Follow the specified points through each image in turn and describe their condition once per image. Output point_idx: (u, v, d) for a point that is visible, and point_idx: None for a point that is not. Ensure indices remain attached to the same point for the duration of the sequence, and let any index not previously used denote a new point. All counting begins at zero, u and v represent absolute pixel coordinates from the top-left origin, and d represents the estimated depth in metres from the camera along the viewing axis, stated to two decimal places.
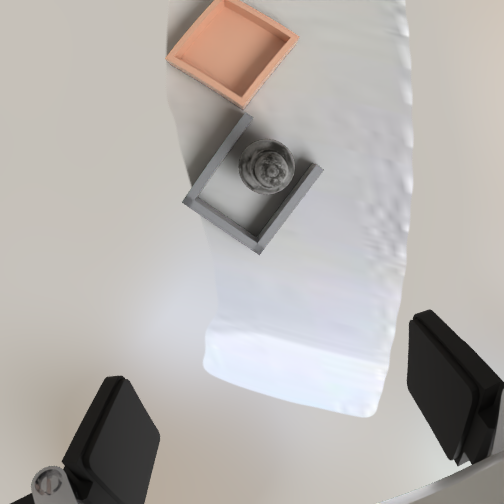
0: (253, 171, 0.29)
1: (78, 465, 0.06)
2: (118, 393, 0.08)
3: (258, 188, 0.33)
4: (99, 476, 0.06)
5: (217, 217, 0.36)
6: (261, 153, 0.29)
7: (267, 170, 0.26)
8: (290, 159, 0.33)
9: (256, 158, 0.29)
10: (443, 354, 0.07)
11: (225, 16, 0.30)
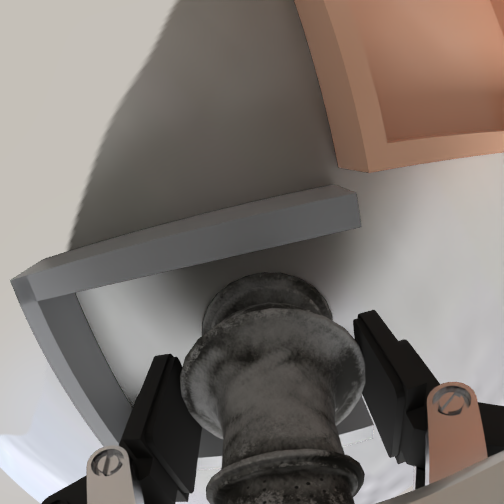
0: (226, 486, 0.05)
1: (141, 440, 0.06)
2: (171, 370, 0.09)
3: (207, 420, 0.09)
4: (160, 451, 0.07)
5: (70, 374, 0.10)
6: (309, 463, 0.05)
7: None
8: (344, 412, 0.10)
9: (277, 468, 0.05)
10: (376, 353, 0.08)
11: None
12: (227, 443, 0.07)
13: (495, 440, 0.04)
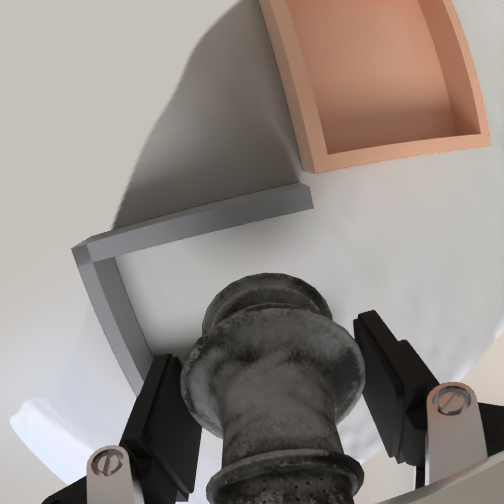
0: (226, 486, 0.05)
1: (141, 440, 0.06)
2: (171, 370, 0.09)
3: (207, 420, 0.09)
4: (160, 451, 0.07)
5: (112, 319, 0.16)
6: (309, 463, 0.05)
7: None
8: (344, 411, 0.10)
9: (277, 467, 0.05)
10: (376, 353, 0.08)
11: (406, 9, 0.13)
12: (227, 443, 0.07)
13: (495, 440, 0.04)
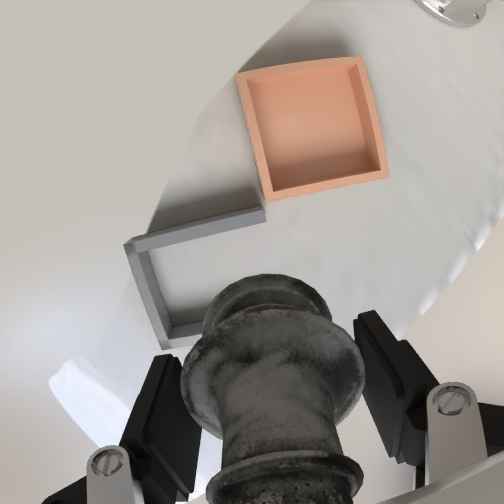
0: (226, 487, 0.05)
1: (141, 440, 0.06)
2: (171, 370, 0.09)
3: (206, 421, 0.09)
4: (160, 451, 0.07)
5: (147, 288, 0.27)
6: (308, 464, 0.05)
7: None
8: (343, 412, 0.10)
9: (277, 469, 0.05)
10: (376, 353, 0.08)
11: (338, 82, 0.24)
12: (227, 444, 0.07)
13: (495, 440, 0.04)
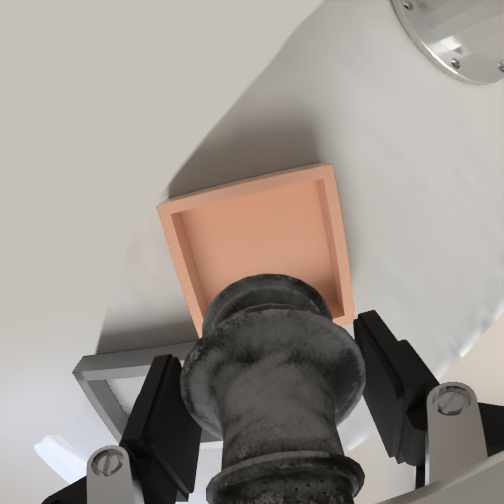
0: (226, 488, 0.05)
1: (141, 440, 0.06)
2: (171, 370, 0.09)
3: (207, 421, 0.09)
4: (160, 451, 0.07)
5: (101, 408, 0.24)
6: (309, 465, 0.05)
7: None
8: (344, 412, 0.10)
9: (277, 469, 0.05)
10: (376, 353, 0.08)
11: (300, 193, 0.21)
12: (227, 444, 0.07)
13: (495, 440, 0.04)
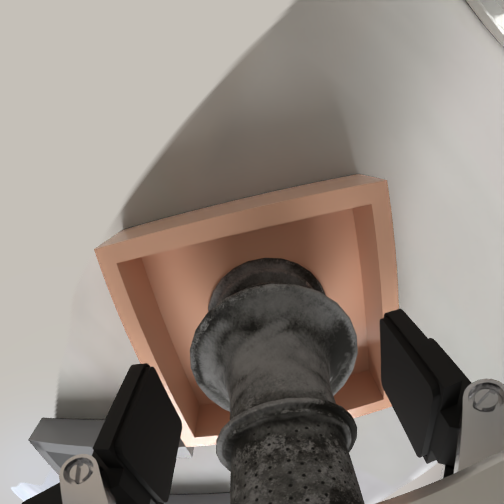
0: (234, 436, 0.07)
1: (110, 451, 0.06)
2: (145, 380, 0.09)
3: (214, 391, 0.11)
4: (130, 462, 0.06)
5: None
6: (307, 410, 0.06)
7: None
8: (339, 383, 0.11)
9: (279, 414, 0.06)
10: (408, 352, 0.07)
11: (327, 223, 0.13)
12: (234, 401, 0.08)
13: None
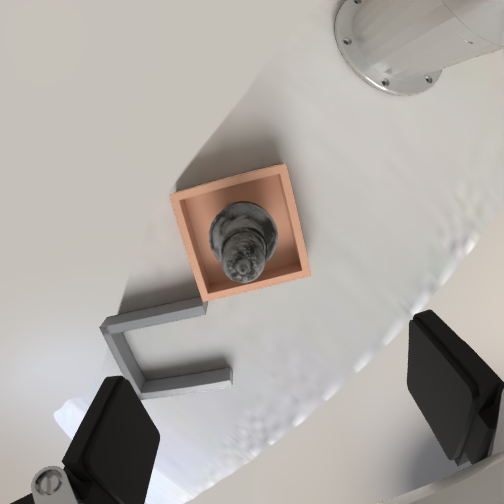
0: (225, 240, 0.23)
1: (78, 465, 0.06)
2: (118, 393, 0.08)
3: (218, 252, 0.27)
4: (99, 476, 0.06)
5: (121, 358, 0.33)
6: (247, 229, 0.23)
7: (238, 261, 0.20)
8: (271, 249, 0.28)
9: (238, 230, 0.23)
10: (443, 354, 0.07)
11: (267, 185, 0.30)
12: None
13: None
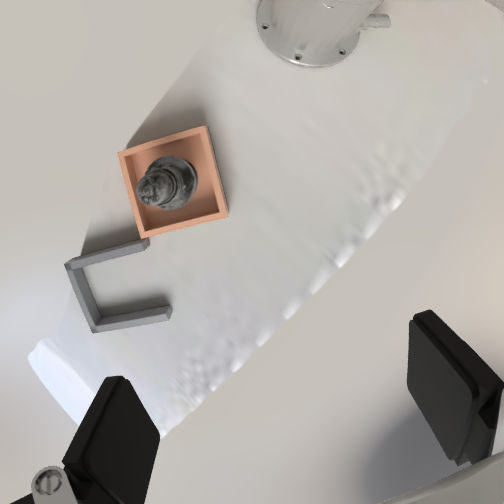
0: None
1: (78, 465, 0.06)
2: (118, 393, 0.08)
3: None
4: (99, 476, 0.06)
5: (79, 291, 0.38)
6: (161, 169, 0.29)
7: (145, 187, 0.26)
8: (190, 191, 0.33)
9: (155, 170, 0.29)
10: (443, 354, 0.07)
11: (195, 144, 0.35)
12: None
13: None
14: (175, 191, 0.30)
